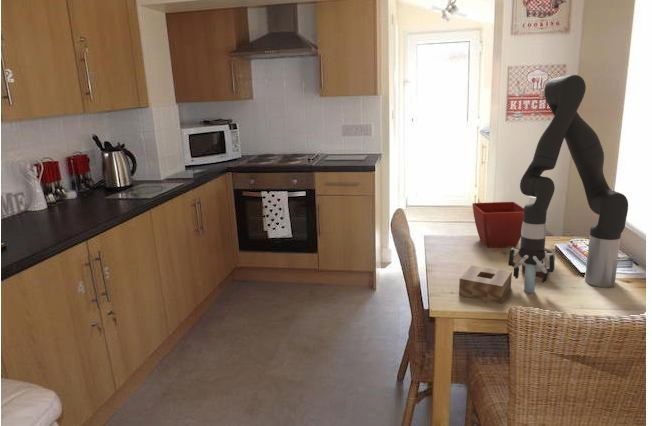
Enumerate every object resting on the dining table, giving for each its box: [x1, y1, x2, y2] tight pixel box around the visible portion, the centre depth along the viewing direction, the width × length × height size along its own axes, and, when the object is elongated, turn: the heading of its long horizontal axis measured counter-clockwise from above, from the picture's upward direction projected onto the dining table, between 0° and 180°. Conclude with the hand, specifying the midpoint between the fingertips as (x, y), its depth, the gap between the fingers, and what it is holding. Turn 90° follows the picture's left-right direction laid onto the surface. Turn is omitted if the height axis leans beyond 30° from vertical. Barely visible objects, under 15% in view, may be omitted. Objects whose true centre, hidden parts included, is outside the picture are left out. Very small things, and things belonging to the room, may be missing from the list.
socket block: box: [458, 265, 513, 304], centre depth 164 cm, size 14×14×6 cm
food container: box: [521, 247, 555, 281], centre depth 176 cm, size 12×6×10 cm, turn 47°
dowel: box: [523, 264, 537, 294], centre depth 162 cm, size 3×3×10 cm
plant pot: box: [472, 201, 524, 248], centre depth 212 cm, size 19×19×17 cm
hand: (529, 280), depth 162 cm, fingers open, 8 cm apart
